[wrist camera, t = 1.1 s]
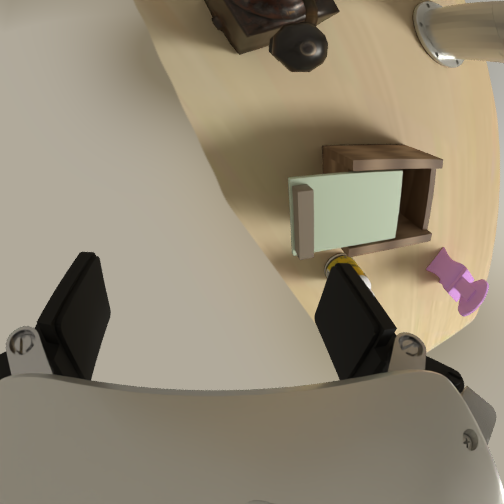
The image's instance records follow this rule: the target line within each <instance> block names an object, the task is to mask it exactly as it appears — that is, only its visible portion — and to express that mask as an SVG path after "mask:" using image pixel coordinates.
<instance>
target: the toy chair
mask: <svg viewBox="0 0 504 504" xmlns="http://www.w3.org/2000/svg"><path fill="white" fill-rule="evenodd" d="M426 270H427V271H430V272H432V273H434V274H436V275H437V276H438V277H439V278H440V281H439V283H441V284H442V285H443V288H444V289H445V290H446V291H447V292H448V294H449V295H450V296H451V297H452V298H453V299H454V300H455V301H456V302H457V301H458V300H459V299H460V301H459V306H458V311H459V313H460V315H462V316H467V315H469V314H471V313H473V312H474V311H475V310H476V309H477V308H478V307H479V306H480V305H481V303H482V302H483V301H484V299H485V297H486V295H487V292H488V288H489V285H488V283H487V282H486V281H485V280H483V279H481V280H478V281H475V282H473V281H474V278H473V277H472V275H471V274H470V272H469V271H468V269H467V268H466V267H465V266H464V265H463V264H461V263H458V262H455V261H453V260H452V259H451V258H450V257H449V255H448V254H447V252H446V250H445V248H444V247H443V248H442V249H441V251H440V252H439V253H438V255H437V256H436V257H435V258H434V260H433V261H432V262H431V264H430V265H429V266H428V267H427V269H426Z"/></svg>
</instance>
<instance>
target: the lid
mask: <svg viewBox="0 0 504 504" xmlns="http://www.w3.org/2000/svg"><path fill="white" fill-rule="evenodd" d="M402 175H403V171H402V170H400V169H393V170H371V171H354V172H340V173H328V174H317V175H307V176H298V177H289V178H288V188H289V204H290V223H291V246H292V254H293V256H295V255H297V256H298V257H299V259H300V260H301V259H307V258H313V257H314V252H319V251H324V250H330V249H336V248H342V247H347V246H353V245H359V244H364V243H370V242H376V241H381V240H387V239H392V238H395V235H396V229H397V222H398V214H399V206H400V197H401V187H402Z"/></svg>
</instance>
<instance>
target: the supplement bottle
mask: <svg viewBox="0 0 504 504" xmlns="http://www.w3.org/2000/svg"><path fill="white" fill-rule="evenodd" d="M336 263H350V264H351V265H352V267H353V268H354V269H355V270H356V272H357V273H358V274H359V276H360V277H361V278H362V280H363V281H364V282H365V284H366V285H367V287H368V288H369V289H370V291H371V283H370V281H369V279H368V278H367V276H366V275H365V274H364V273H363V271H362V270H361V269H360V267H359V266H358V265H357V264H356V262H355V261H354V260H353V259H352V257H348V256H347V255H346V254H343V253H342V254H337V255H335V256H333V257H332V258H330V259H329V261H328V262H327V263H326V265H325V270H324V271H325V275H326V277H327V278H328V275H329V272H330V269H331V267H332V266H335V264H336ZM371 292H372V291H371ZM372 293H373V292H372ZM373 295H374V294H373ZM374 296H375V295H374Z"/></svg>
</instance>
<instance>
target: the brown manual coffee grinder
mask: <svg viewBox="0 0 504 504" xmlns="http://www.w3.org/2000/svg"><path fill="white" fill-rule="evenodd" d="M204 1H205V3H206V4H207V6H208V8H209V10H210V12H211V14H212V17H213V18H212V21H213V23H214V25H215V26H216V28H217V29H218V30H221V31H222V32H223V33H224V34H225V36H226V38H227V39H228V41H229V42H230V44H231V45H232V46H233V47H234V49H235V50H236V51H237V52H238V53H239V55H240V54H243V53H246V52H249V51H253V50H257V49H260V48H263V47H265V46H268V45H269V52H270V53H271V54H272V55H273V56H274V57H275V58H276V59H277V60H278V61H280V62H281V63H282V64H283V65H284V66H285V67H286V68H287V69H288V70H289V71H291V72H310V71H312V70H313V69H315V68H316V67H318V66H319V65H321V64H322V63H323V62H324V60H325V59H326V57H327V49H328V42H327V40H326V37H325V35H324V34H323V33H322V32H321V31H320V30H319V29H318V28H317V27H316V26H317V25H318V24H320V23H321V22H323V21H325V20H326V19H328V18H330V17H331V16H333V15H335V14H337V13H338V12H340V11H339V9H338V8H337V6H336V4H335V2H334V1H333V0H204Z"/></svg>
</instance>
